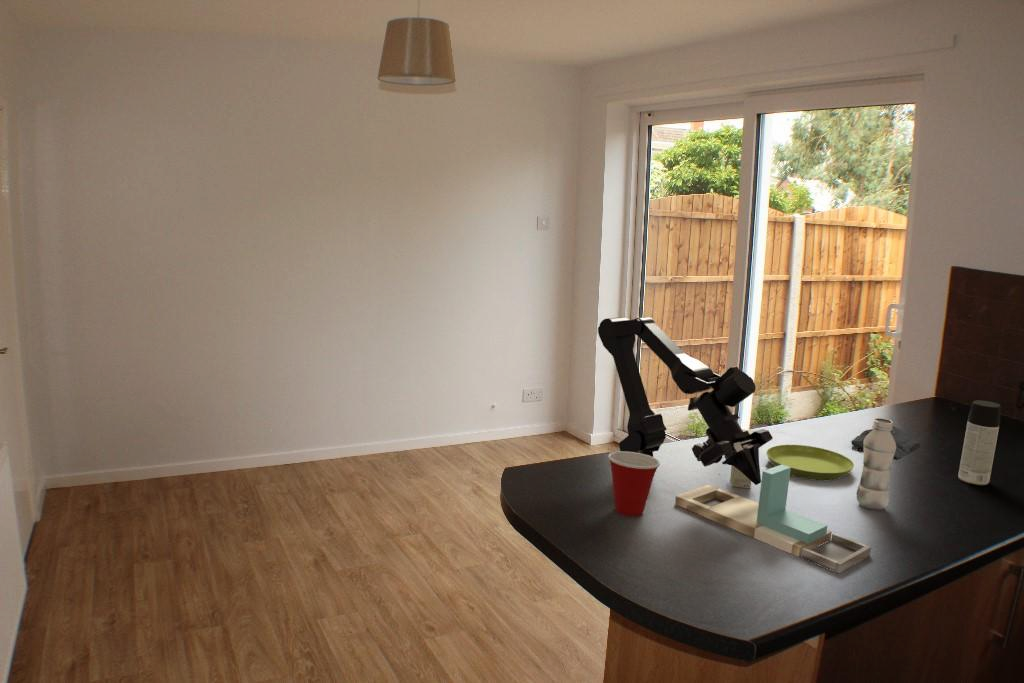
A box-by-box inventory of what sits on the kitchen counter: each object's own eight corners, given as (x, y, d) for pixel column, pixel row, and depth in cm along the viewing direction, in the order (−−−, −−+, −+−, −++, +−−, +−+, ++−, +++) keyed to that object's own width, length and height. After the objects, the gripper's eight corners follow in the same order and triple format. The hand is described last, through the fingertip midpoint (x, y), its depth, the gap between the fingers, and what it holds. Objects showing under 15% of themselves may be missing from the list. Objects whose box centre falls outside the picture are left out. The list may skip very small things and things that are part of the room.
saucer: (798, 451, 202) (799, 440, 201) (869, 476, 185) (871, 464, 184) (748, 463, 190) (749, 451, 190) (819, 490, 174) (820, 477, 173)
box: (750, 489, 172) (756, 436, 169) (731, 487, 172) (736, 434, 170) (748, 481, 177) (754, 429, 174) (729, 479, 178) (734, 427, 175)
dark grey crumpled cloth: (840, 448, 207) (842, 431, 206) (867, 432, 223) (869, 417, 222) (898, 462, 197) (901, 445, 196) (923, 445, 212) (925, 430, 211)
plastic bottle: (874, 515, 160) (887, 426, 156) (848, 503, 166) (860, 417, 162) (894, 510, 163) (907, 423, 159) (867, 499, 169) (879, 415, 165)
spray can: (991, 481, 184) (1005, 403, 181) (985, 488, 179) (999, 408, 176) (961, 473, 189) (974, 398, 185) (954, 480, 184) (967, 402, 180)
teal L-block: (756, 523, 148) (762, 471, 146) (775, 514, 153) (781, 464, 151) (807, 544, 140) (815, 489, 138) (826, 534, 145) (833, 481, 142)
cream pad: (754, 537, 146) (755, 528, 146) (786, 523, 154) (787, 514, 153) (791, 553, 140) (792, 544, 140) (823, 537, 148) (824, 528, 147)
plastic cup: (666, 512, 156) (670, 458, 154) (636, 526, 149) (640, 470, 147) (624, 496, 164) (628, 445, 162) (593, 509, 156) (597, 455, 154)
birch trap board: (675, 504, 161) (675, 495, 160) (708, 492, 168) (709, 484, 168) (838, 573, 133) (840, 563, 133) (869, 555, 141) (871, 546, 140)
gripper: (719, 429, 169) (756, 490, 163) (667, 443, 157) (704, 510, 151) (753, 404, 161) (793, 468, 155) (701, 417, 149) (742, 486, 143)
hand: (758, 483), depth 151 cm, fingers closed
